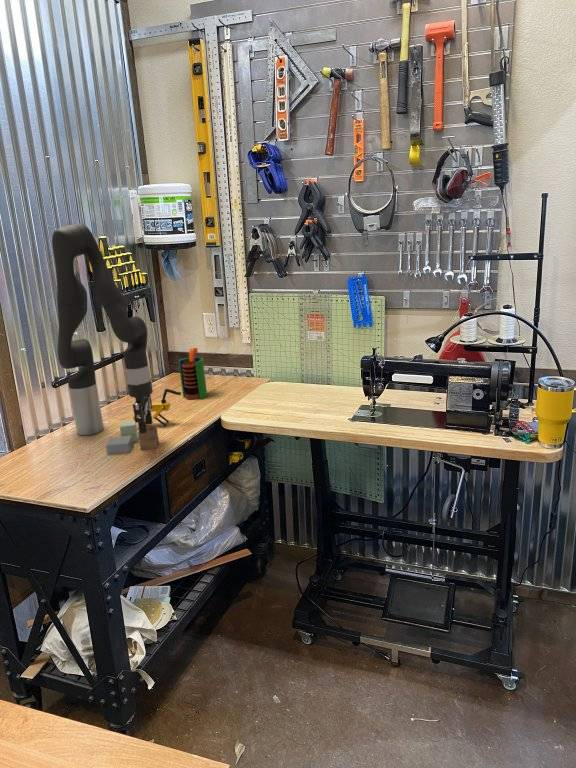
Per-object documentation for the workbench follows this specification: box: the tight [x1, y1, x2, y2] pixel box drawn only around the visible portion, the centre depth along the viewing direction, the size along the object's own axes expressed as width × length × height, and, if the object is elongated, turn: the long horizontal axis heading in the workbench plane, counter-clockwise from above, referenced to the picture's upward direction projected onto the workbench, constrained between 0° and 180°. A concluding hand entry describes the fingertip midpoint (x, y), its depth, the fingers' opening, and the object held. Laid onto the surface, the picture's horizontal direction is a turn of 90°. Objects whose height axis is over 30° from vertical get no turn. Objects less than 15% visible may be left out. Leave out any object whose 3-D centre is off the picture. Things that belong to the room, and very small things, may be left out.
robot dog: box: [132, 388, 182, 427], centre depth 212 cm, size 6×18×13 cm, turn 89°
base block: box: [105, 435, 134, 455], centre depth 193 cm, size 7×7×4 cm
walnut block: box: [137, 425, 160, 450], centre depth 194 cm, size 5×5×6 cm
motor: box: [177, 347, 208, 401], centre depth 241 cm, size 10×9×20 cm
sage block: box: [119, 419, 139, 443], centre depth 201 cm, size 5×5×6 cm
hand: (146, 428), depth 192 cm, fingers open, 8 cm apart
